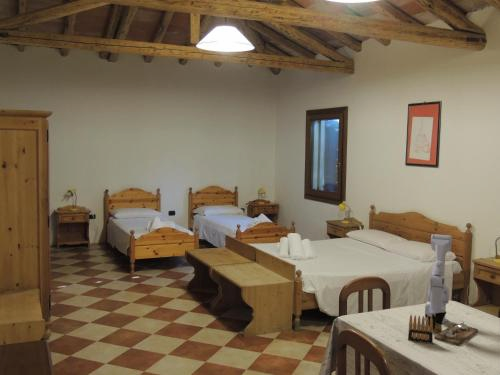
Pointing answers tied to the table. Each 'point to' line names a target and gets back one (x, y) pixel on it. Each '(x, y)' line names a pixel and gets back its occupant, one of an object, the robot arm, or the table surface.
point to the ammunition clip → (421, 330)
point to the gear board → (461, 334)
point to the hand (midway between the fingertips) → (435, 327)
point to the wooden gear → (437, 328)
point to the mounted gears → (456, 331)
